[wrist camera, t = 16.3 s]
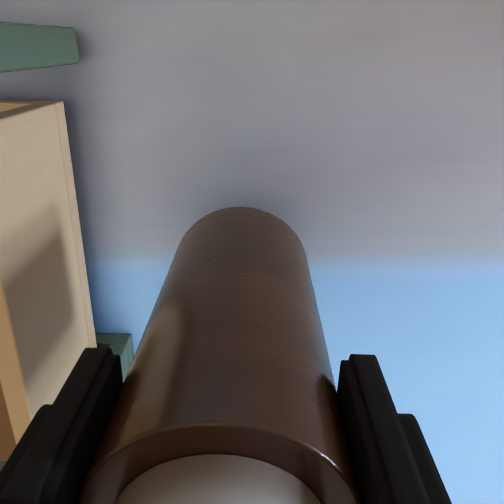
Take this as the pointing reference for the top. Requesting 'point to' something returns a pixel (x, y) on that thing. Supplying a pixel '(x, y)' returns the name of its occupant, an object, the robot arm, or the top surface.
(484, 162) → the top surface
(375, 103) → the top surface
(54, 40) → the drawer
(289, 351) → the pepper mill
